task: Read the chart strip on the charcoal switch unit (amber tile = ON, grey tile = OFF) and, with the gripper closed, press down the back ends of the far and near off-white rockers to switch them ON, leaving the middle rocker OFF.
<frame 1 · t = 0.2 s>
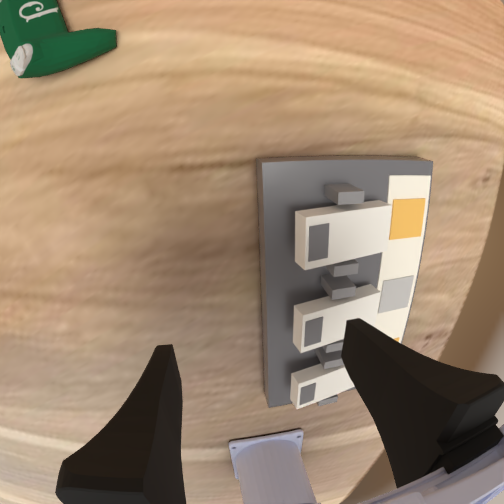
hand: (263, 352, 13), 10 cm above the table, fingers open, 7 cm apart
rocker 1: (329, 379, 23), point 3 cm above the table, hinge at 10.0°
switch unit: (339, 289, 24), on the table
rocker 2: (338, 317, 21), point 3 cm above the table, hinge at 10.0°
gaming controller: (60, 17, 13), on the table
rocker 3: (345, 232, 18), point 3 cm above the table, hinge at 10.0°
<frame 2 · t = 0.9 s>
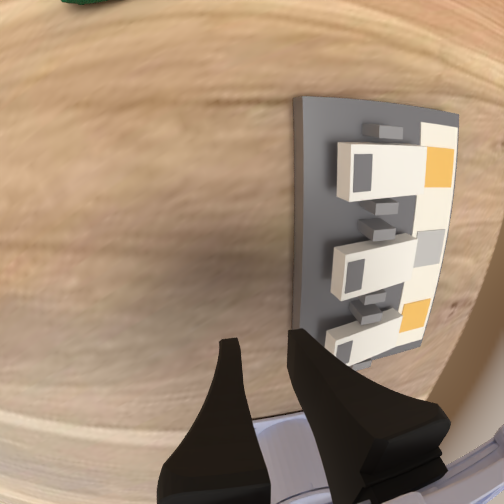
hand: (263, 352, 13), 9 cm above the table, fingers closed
rocker 1: (364, 340, 22), point 3 cm above the table, hinge at 10.0°
switch unit: (372, 243, 23), on the table
rocker 2: (376, 265, 19), point 3 cm above the table, hinge at 10.0°
rocker 3: (385, 169, 17), point 3 cm above the table, hinge at 10.0°
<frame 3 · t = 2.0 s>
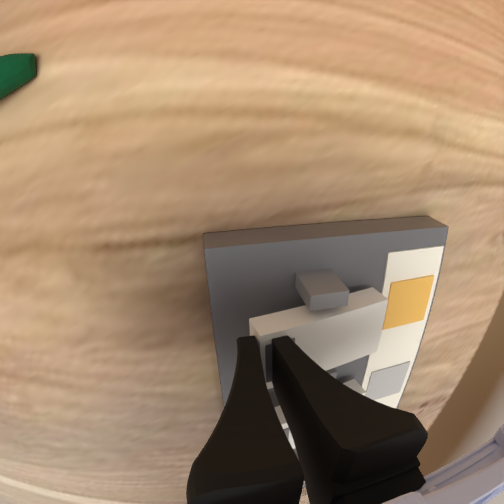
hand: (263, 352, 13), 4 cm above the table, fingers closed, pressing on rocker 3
switch unit: (317, 376, 19), on the table
rocker 2: (310, 420, 16), point 3 cm above the table, hinge at 10.0°
rocker 3: (321, 338, 13), point 3 cm above the table, hinge at 9.8°, touching gripper
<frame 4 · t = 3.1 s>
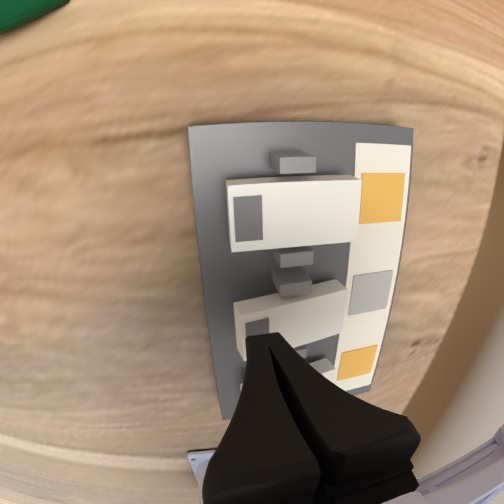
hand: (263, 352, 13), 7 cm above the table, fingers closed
rocker 1: (288, 392, 20), point 3 cm above the table, hinge at 10.0°
switch unit: (300, 286, 20), on the table
rocker 2: (292, 319, 17), point 3 cm above the table, hinge at 10.0°
rocker 3: (294, 211, 15), point 3 cm above the table, hinge at -1.8°
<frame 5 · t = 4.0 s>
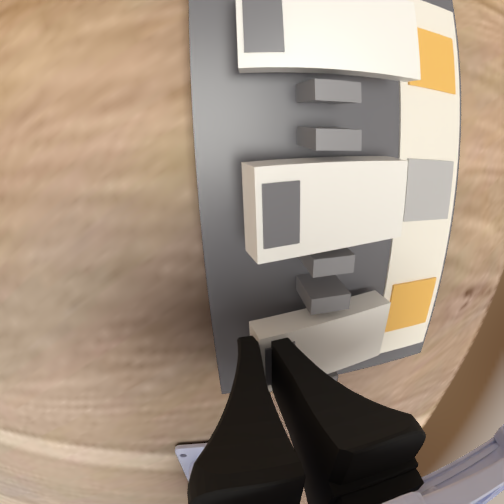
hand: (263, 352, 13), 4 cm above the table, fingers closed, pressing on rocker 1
rocker 1: (322, 341, 13), point 3 cm above the table, hinge at 8.8°, touching gripper
switch unit: (334, 182, 14), on the table
rocker 2: (332, 202, 11), point 3 cm above the table, hinge at 10.0°
rocker 3: (330, 30, 8), point 3 cm above the table, hinge at -8.7°
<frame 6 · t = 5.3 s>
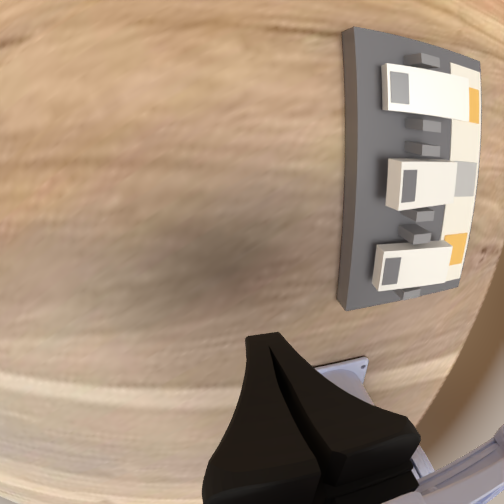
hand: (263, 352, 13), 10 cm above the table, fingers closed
rocker 1: (413, 265, 21), point 3 cm above the table, hinge at -5.7°
switch unit: (413, 172, 22), on the table
rocker 2: (424, 182, 19), point 3 cm above the table, hinge at 10.0°
rocker 3: (427, 92, 16), point 3 cm above the table, hinge at -15.0°
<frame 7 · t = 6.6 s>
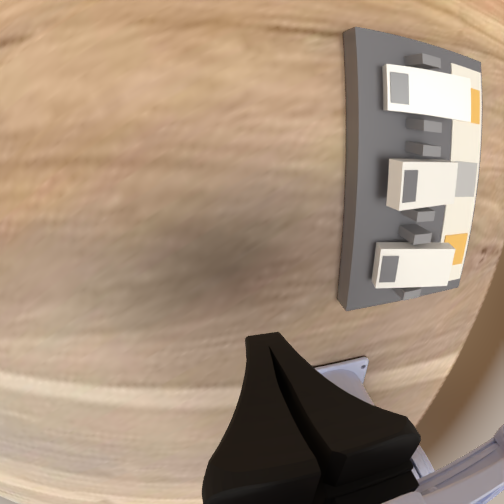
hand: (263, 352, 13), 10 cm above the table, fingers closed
rocker 1: (414, 265, 21), point 3 cm above the table, hinge at -14.2°
switch unit: (413, 173, 22), on the table
rocker 2: (425, 182, 19), point 3 cm above the table, hinge at 10.0°
rocker 3: (428, 93, 16), point 3 cm above the table, hinge at -18.7°, touching switch unit
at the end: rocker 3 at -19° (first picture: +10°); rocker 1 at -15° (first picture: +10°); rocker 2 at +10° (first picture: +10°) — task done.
